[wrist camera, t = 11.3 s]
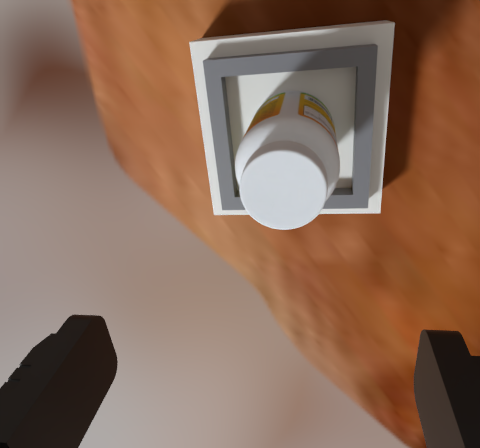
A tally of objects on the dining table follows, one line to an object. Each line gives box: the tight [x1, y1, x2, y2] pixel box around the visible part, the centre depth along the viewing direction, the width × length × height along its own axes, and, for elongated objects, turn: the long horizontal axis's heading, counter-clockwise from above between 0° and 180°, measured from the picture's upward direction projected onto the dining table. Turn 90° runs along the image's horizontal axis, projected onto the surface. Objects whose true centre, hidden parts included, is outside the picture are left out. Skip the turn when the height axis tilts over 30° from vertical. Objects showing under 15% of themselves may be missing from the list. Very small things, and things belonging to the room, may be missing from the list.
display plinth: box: [189, 20, 395, 215], centre depth 27 cm, size 12×12×4 cm
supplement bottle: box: [235, 91, 340, 230], centre depth 22 cm, size 5×5×10 cm
